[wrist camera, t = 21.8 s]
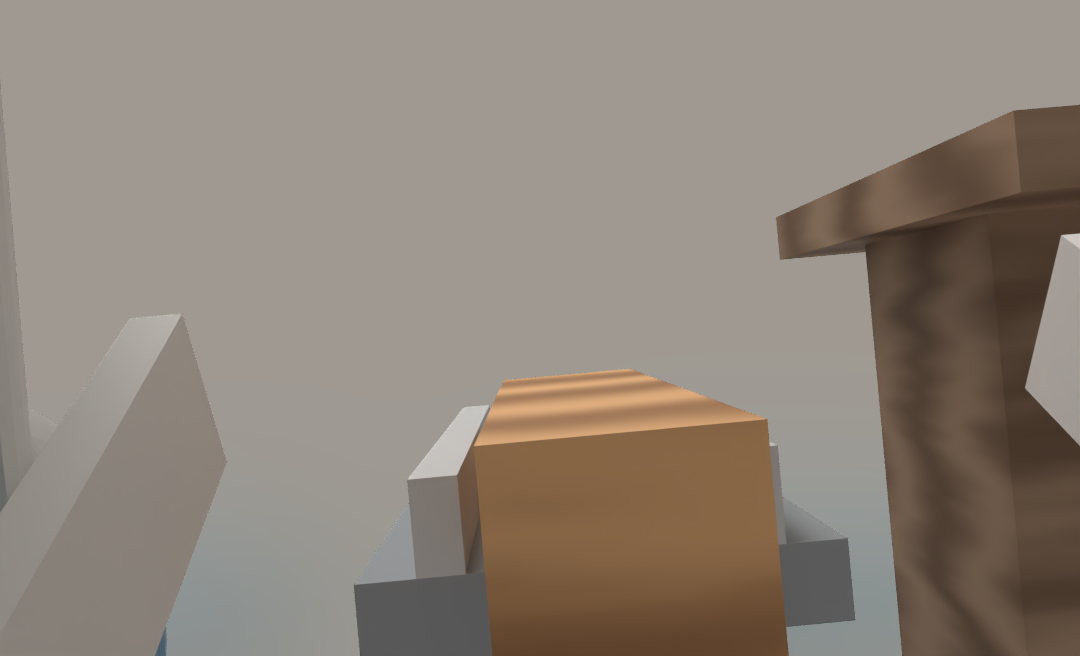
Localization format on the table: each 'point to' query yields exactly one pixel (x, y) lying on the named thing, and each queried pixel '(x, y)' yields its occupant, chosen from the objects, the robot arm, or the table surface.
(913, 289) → the tall stand
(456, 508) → the cradle
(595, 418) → the wooden grain block
